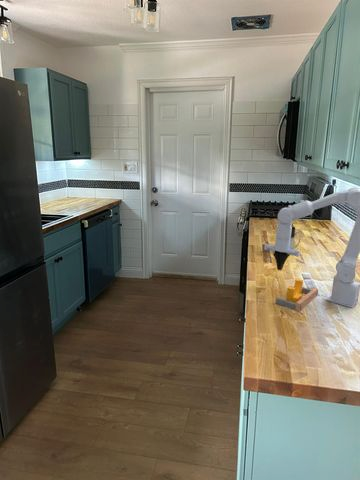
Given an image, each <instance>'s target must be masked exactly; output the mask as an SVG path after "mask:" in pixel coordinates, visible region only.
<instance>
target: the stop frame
mask: <svg viewBox="0 0 360 480" xmlns="http://www.w3.org/2000/svg"><path fill="white" fill-rule="evenodd" d="M302 294H305V295H304V296H302V298H301V299H300V300H299V301H298V302H296V303H293V302H290V301H287V300H286V299H283V298H280V297H276V298H275V304H277V305H279V306H283V307H286V308H288V309H292V310H295V311H297V312H300V311H302V310H303V309H304V308H305V307H306V306H307V305H308V304H309V303H311V302H312V301H313V300H314V299H316V298H317V296H319V288H317V287H313V288H312V289H311V288H309V287H308V288H307V287H304V286H302Z"/></svg>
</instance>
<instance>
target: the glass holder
mask: <svg viewBox="0 0 360 480" xmlns="http://www.w3.org/2000/svg"><path fill="white" fill-rule="evenodd" d="M291 227H292V231H291V240H290V248H291V249H294V250H295V248H297V247H298V246H299V244H300V243H301V241H302V240H301V239H302V234H301V233H300V232H297V231H296V226H293V225H291ZM297 234H298V235H299V240H298V242H297V244H296V245H295V239H296V235H297ZM294 245H295V246H294Z"/></svg>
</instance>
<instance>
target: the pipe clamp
mask: <svg viewBox="0 0 360 480" xmlns="http://www.w3.org/2000/svg"><path fill="white" fill-rule="evenodd" d="M303 284H304V280H303V279H299V278H296V279H295V281H294V285H293V286H291V285H290V286H289V285H288V287H287V289H286V296H285V300H287V301H290V302H293V303H296V302H298V301H299V300H300V299H301V298H303V293H302V287H304V286H303Z"/></svg>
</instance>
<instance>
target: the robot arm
mask: <svg viewBox="0 0 360 480" xmlns="http://www.w3.org/2000/svg"><path fill="white" fill-rule="evenodd" d="M346 203H347V205H348V206H349V207H350V208H352V210H354V211H355V213H356V215H357V217H356V218H355V222H354V225H353V228H352V231H351V233H350V236H349V239H348V241H347V245H346V248H345V251H344V253H343V255H342V256H341V258H340V260H339V261H338V262H337V263H336V264H335V271H336V274H335V275H334V276H333V279H332V280H333V281H332V287H331V294H330V295H329V297H328V298H327V300H326V301H328V302H331V303H335V304H338V305H342V306H344V307H349V308H354V307H355V306H356V305H357V303H358V302H359V296H360V283H359V282H356V281H355V278H356V267H357V263H358V258H359V255H360V188H359V187H351V188H348V189H344V190H339V191H336V192H333V193H332V194H329V195H328V194H327V196H324V197H321V198H318V199H317V200H314V201H310V200H307V199H306V200H304V199H302V200H299V202H298V203H295V204H292V205H291V204H289V205H288V206H287V207H282V208H281V209H280V210H279V211H278V213H277V220H278V221H277V226H276V231H275V232H276V234H275V242H274V244H264V249H263V250H266V251H272V252H273V253H272V256H273V257H274V259H275V262H276V268H277V270H278V271H282V270H283V268H284V265H285V263H286V261H287V259H288V258H289V256H295V257H300V256H301V250H296V249H295V248H294V249H291V248H290V240H291V231H292V227H293V226H292V221H293V220H298V219H302V218H304V217H307V216H310V215H313V213H314V211H315V210H318V209H321V208H325V207H328V206H330V205H334V204H338V205H344V206H345V205H346ZM291 226H292V227H291Z"/></svg>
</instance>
